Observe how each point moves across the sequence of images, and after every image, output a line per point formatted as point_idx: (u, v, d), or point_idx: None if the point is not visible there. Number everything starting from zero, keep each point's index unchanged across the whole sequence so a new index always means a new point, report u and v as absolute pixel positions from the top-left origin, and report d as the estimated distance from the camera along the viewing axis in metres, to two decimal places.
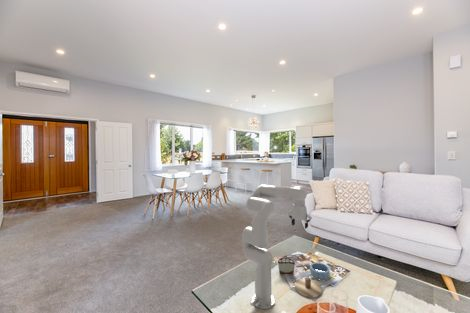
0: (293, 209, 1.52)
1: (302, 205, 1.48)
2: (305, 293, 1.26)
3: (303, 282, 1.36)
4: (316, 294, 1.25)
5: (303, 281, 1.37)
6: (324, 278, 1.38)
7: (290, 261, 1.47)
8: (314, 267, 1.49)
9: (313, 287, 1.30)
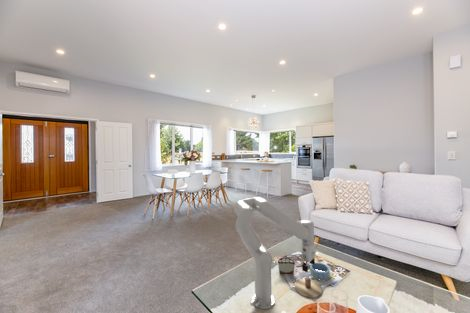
0: (309, 250, 1.26)
1: None
2: (305, 293, 1.26)
3: (303, 282, 1.36)
4: (316, 294, 1.25)
5: (303, 281, 1.37)
6: (324, 278, 1.38)
7: (290, 261, 1.47)
8: (314, 267, 1.49)
9: (313, 287, 1.30)
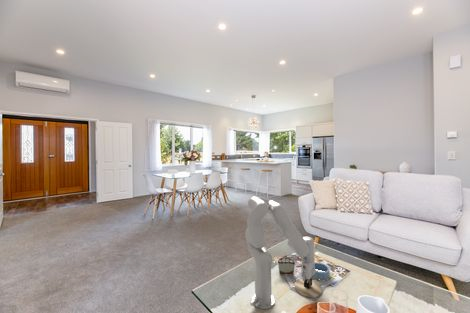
0: (309, 268, 1.26)
1: None
2: (305, 293, 1.26)
3: (303, 282, 1.36)
4: (316, 294, 1.25)
5: (303, 281, 1.37)
6: (324, 278, 1.38)
7: (290, 261, 1.47)
8: None
9: (313, 287, 1.30)
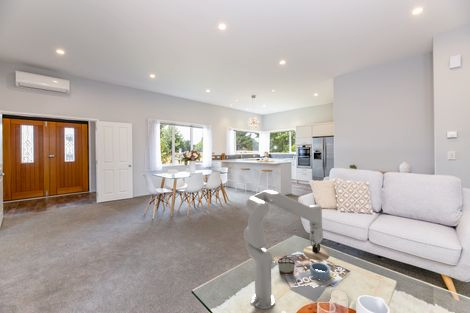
0: (317, 233, 1.34)
1: None
2: (314, 257, 1.33)
3: (311, 248, 1.43)
4: (324, 257, 1.32)
5: (311, 248, 1.44)
6: (324, 278, 1.38)
7: (290, 261, 1.47)
8: (314, 267, 1.49)
9: (321, 252, 1.38)
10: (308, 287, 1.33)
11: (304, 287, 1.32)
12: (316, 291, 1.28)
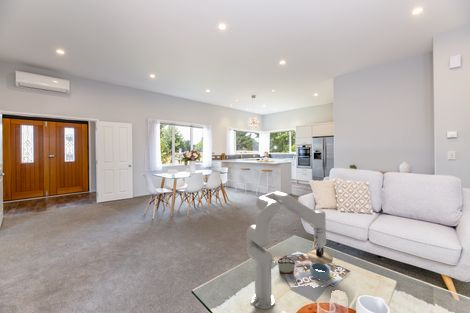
0: (321, 237, 1.38)
1: None
2: (318, 260, 1.38)
3: (315, 252, 1.48)
4: (328, 261, 1.37)
5: (315, 252, 1.49)
6: (324, 278, 1.38)
7: (290, 261, 1.47)
8: (314, 267, 1.49)
9: (324, 256, 1.43)
10: (308, 287, 1.33)
11: (304, 287, 1.32)
12: (316, 291, 1.28)
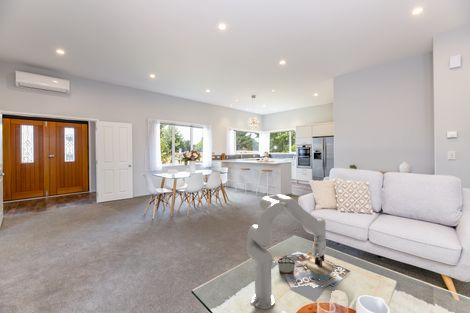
0: (321, 245, 1.39)
1: None
2: (317, 271, 1.38)
3: None
4: (327, 272, 1.37)
5: None
6: (324, 278, 1.38)
7: (290, 261, 1.47)
8: None
9: (324, 266, 1.43)
10: (308, 287, 1.33)
11: (304, 287, 1.32)
12: (316, 291, 1.28)
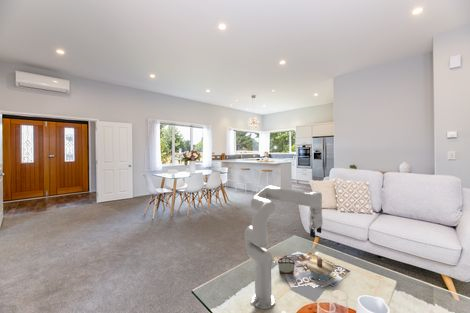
0: (317, 218, 1.39)
1: None
2: (317, 271, 1.38)
3: (315, 262, 1.48)
4: (327, 272, 1.37)
5: (315, 261, 1.49)
6: (324, 278, 1.38)
7: (290, 261, 1.47)
8: None
9: (324, 266, 1.43)
10: (308, 287, 1.33)
11: (304, 287, 1.32)
12: (316, 291, 1.28)
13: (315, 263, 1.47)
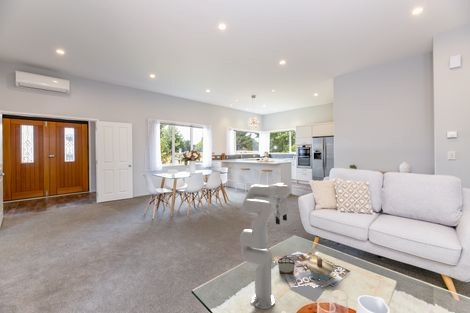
0: (281, 206, 1.53)
1: None
2: (317, 271, 1.38)
3: (315, 262, 1.48)
4: (327, 272, 1.37)
5: (315, 261, 1.49)
6: (324, 278, 1.38)
7: (290, 261, 1.47)
8: None
9: (324, 266, 1.43)
10: (308, 287, 1.33)
11: (304, 287, 1.32)
12: (316, 291, 1.28)
13: (315, 263, 1.47)
